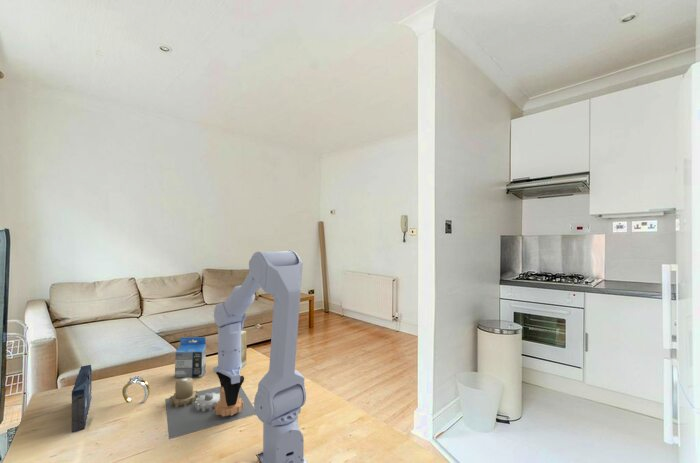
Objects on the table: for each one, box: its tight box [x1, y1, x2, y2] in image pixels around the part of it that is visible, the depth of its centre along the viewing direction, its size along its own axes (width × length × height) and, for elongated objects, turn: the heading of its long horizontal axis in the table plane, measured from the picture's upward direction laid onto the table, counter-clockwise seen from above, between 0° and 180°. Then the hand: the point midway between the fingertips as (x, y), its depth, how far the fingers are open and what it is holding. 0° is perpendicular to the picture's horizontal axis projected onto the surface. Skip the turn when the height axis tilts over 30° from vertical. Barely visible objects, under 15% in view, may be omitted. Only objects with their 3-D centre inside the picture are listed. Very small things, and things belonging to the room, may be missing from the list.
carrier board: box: [164, 377, 256, 440], centre depth 89 cm, size 21×20×7 cm
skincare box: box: [241, 330, 248, 368], centre depth 118 cm, size 6×4×12 cm
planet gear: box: [215, 387, 243, 416], centre depth 86 cm, size 7×7×6 cm
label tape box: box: [174, 336, 207, 379], centre depth 111 cm, size 9×4×12 cm, turn 94°
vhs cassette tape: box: [71, 364, 93, 433], centre depth 87 cm, size 18×3×10 cm, turn 33°
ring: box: [121, 375, 151, 404], centre depth 91 cm, size 7×3×8 cm, turn 82°
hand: (229, 400), depth 86 cm, fingers closed on planet gear, 4 cm apart
